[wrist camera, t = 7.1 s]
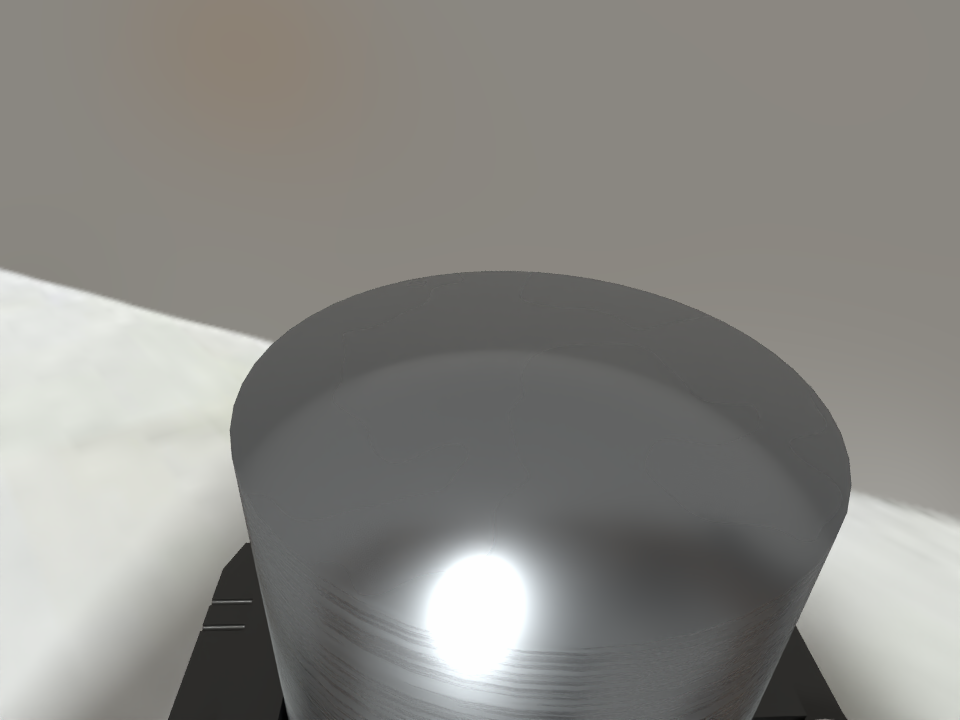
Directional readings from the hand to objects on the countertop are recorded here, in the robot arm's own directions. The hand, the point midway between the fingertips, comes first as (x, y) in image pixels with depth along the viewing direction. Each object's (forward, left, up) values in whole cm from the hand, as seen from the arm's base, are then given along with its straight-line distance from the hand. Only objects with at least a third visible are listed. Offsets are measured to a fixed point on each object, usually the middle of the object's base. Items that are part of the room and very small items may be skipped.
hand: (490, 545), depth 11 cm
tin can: (+1, +2, -7) cm, 7 cm away
